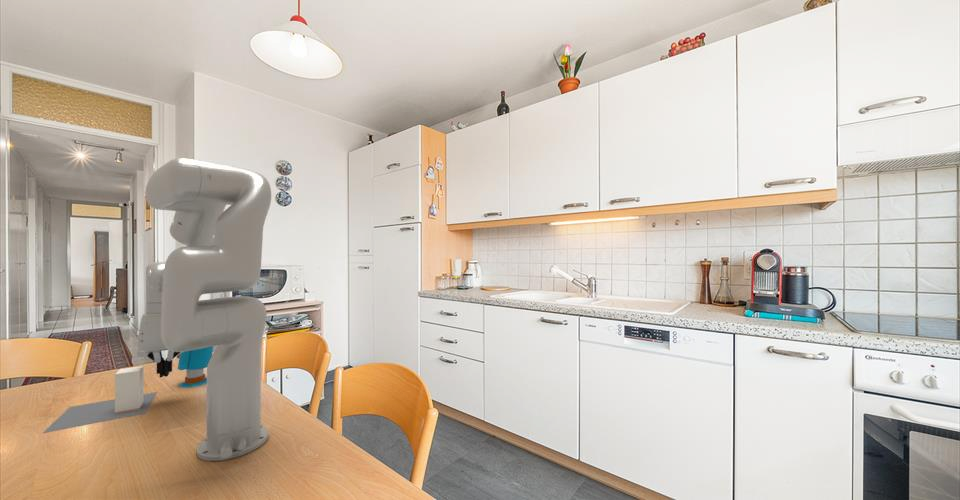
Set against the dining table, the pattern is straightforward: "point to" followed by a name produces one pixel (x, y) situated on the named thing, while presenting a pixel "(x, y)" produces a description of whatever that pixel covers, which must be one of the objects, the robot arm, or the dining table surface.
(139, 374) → the block
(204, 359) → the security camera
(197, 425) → the dining table surface
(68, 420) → the mat
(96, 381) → the dining table surface
